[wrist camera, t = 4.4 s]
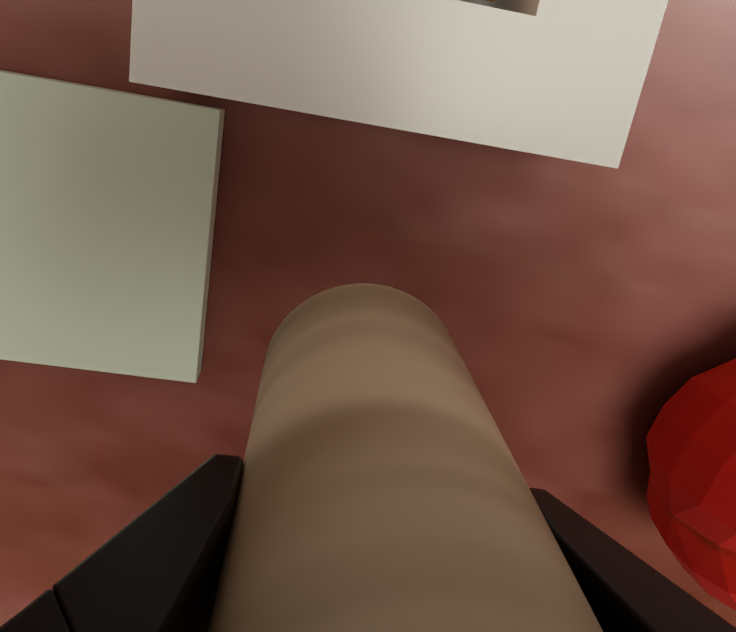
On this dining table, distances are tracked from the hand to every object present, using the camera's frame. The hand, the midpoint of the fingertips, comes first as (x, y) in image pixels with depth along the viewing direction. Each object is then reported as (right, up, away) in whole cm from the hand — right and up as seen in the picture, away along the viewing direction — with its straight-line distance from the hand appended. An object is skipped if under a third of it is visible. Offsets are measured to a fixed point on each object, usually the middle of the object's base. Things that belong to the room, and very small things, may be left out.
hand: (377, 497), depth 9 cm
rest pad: (-10, +6, +11) cm, 16 cm away
